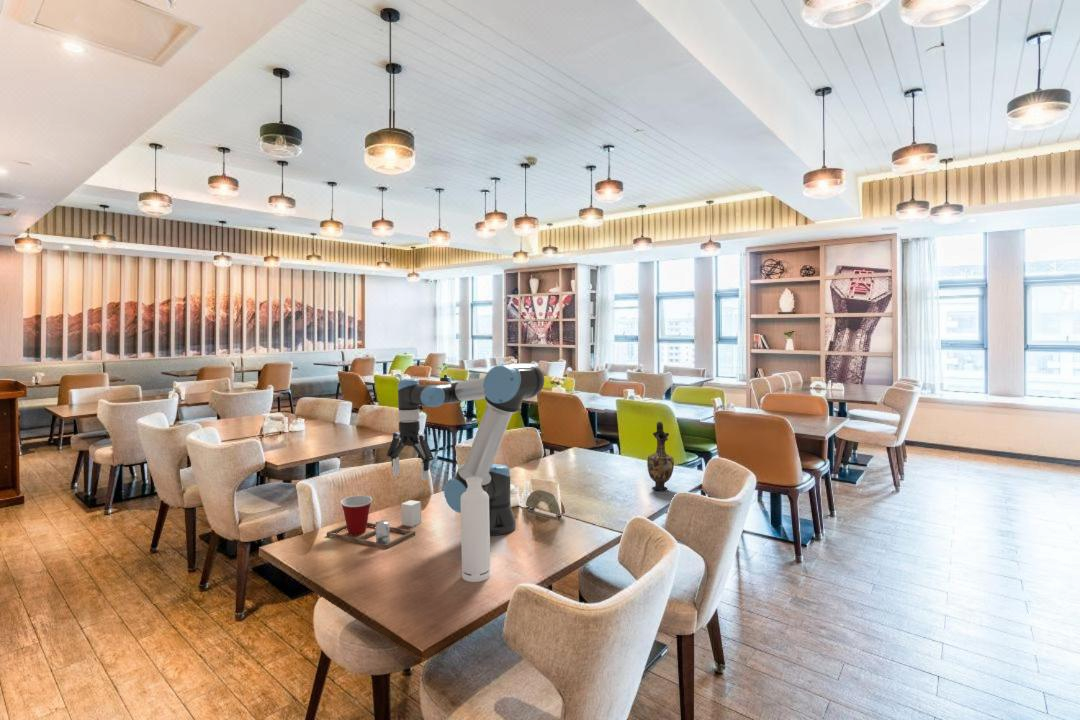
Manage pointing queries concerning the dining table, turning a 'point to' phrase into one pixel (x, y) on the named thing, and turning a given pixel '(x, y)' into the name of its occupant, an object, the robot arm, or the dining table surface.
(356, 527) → the plastic cup
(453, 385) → the robot arm
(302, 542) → the dining table surface
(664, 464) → the vase
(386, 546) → the holder frame
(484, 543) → the bottle
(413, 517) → the sugar box
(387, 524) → the silvery rounded piece
